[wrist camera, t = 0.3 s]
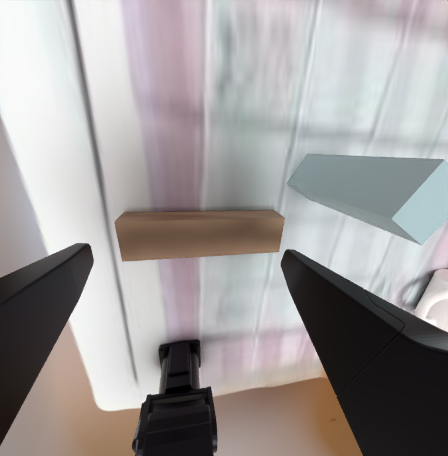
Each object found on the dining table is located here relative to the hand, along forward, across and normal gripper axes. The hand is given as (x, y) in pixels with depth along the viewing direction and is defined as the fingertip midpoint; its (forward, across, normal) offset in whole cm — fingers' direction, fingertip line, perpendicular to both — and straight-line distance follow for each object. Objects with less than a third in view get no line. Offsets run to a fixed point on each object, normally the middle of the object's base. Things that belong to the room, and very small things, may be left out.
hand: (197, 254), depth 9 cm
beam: (+13, -2, +6) cm, 15 cm away
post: (+14, -14, -1) cm, 20 cm away
